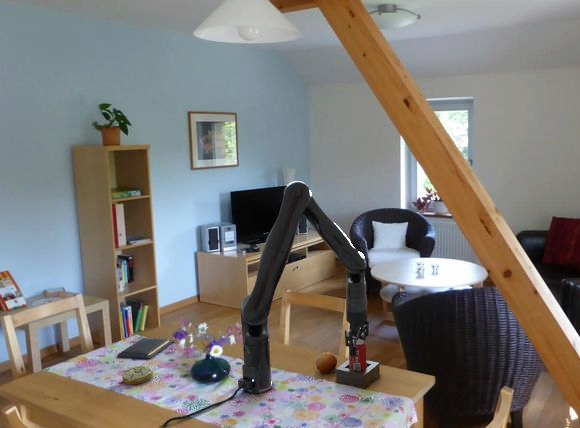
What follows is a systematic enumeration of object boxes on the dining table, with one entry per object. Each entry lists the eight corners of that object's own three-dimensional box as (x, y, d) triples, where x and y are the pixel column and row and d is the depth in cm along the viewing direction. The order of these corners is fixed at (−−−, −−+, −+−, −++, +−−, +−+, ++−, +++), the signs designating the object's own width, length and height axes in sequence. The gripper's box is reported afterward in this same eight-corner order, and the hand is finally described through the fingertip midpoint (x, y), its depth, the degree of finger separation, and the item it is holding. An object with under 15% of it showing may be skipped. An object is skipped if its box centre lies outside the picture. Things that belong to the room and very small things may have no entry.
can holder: (364, 388, 197) (364, 375, 197) (336, 382, 203) (335, 368, 202) (379, 375, 207) (379, 362, 207) (352, 370, 213) (351, 357, 212)
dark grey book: (143, 335, 249) (174, 337, 245) (143, 339, 249) (175, 341, 246) (114, 352, 230) (148, 355, 226) (115, 357, 230) (148, 360, 226)
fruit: (341, 371, 209) (330, 353, 208) (323, 381, 209) (312, 364, 208) (342, 362, 217) (331, 345, 216) (325, 372, 217) (313, 355, 216)
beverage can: (369, 371, 206) (369, 339, 205) (362, 378, 201) (362, 345, 199) (353, 368, 209) (353, 337, 207) (346, 375, 203) (345, 343, 202)
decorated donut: (117, 380, 209) (116, 370, 208) (145, 371, 216) (144, 361, 216) (129, 388, 201) (128, 378, 201) (158, 378, 209) (157, 369, 208)
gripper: (357, 301, 209) (357, 344, 212) (337, 312, 197) (338, 358, 199) (375, 303, 206) (375, 348, 208) (356, 315, 193) (357, 362, 196)
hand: (357, 352), depth 204 cm, fingers closed on beverage can, 6 cm apart
